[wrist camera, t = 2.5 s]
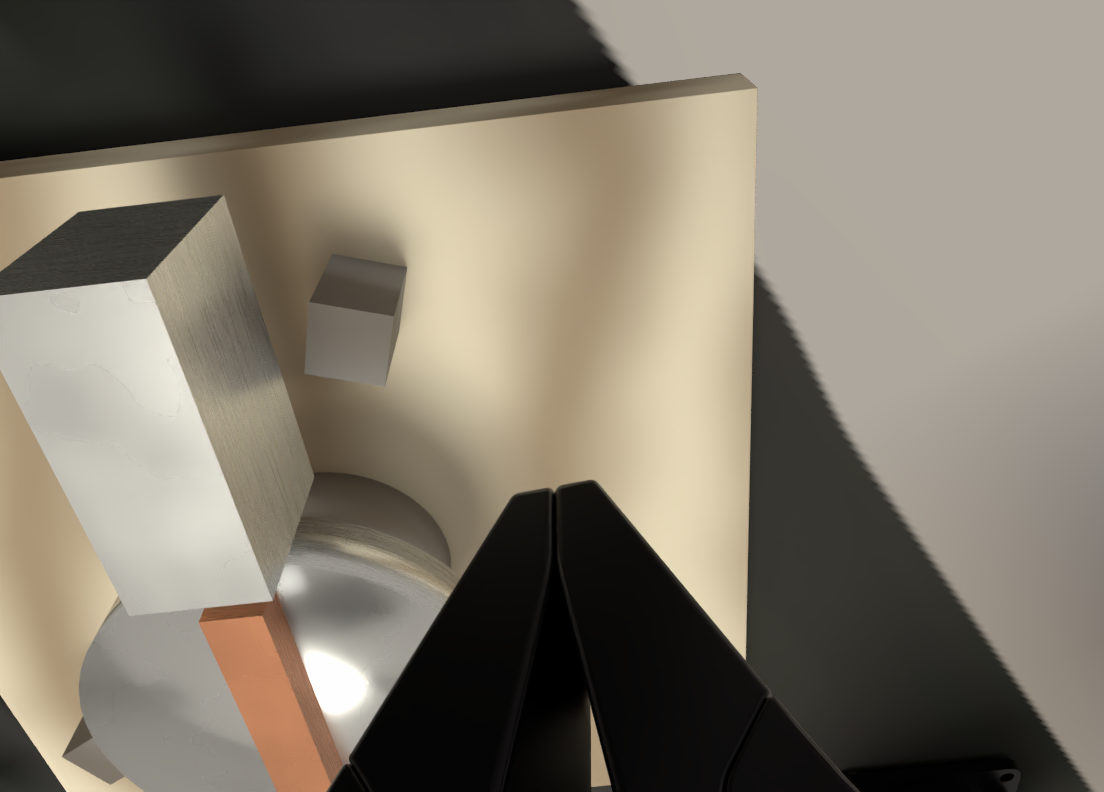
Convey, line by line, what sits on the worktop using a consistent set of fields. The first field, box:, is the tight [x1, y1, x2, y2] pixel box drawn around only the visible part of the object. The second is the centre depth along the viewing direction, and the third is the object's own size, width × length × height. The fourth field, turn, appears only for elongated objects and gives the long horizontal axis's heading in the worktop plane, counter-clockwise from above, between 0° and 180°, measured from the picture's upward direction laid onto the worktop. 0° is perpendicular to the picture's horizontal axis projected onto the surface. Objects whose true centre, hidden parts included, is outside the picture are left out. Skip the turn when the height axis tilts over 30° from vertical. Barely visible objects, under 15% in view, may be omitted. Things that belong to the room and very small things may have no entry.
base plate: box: [0, 73, 758, 792], centre depth 22 cm, size 22×22×5 cm
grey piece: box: [0, 195, 461, 792], centre depth 17 cm, size 16×9×4 cm, turn 6°
